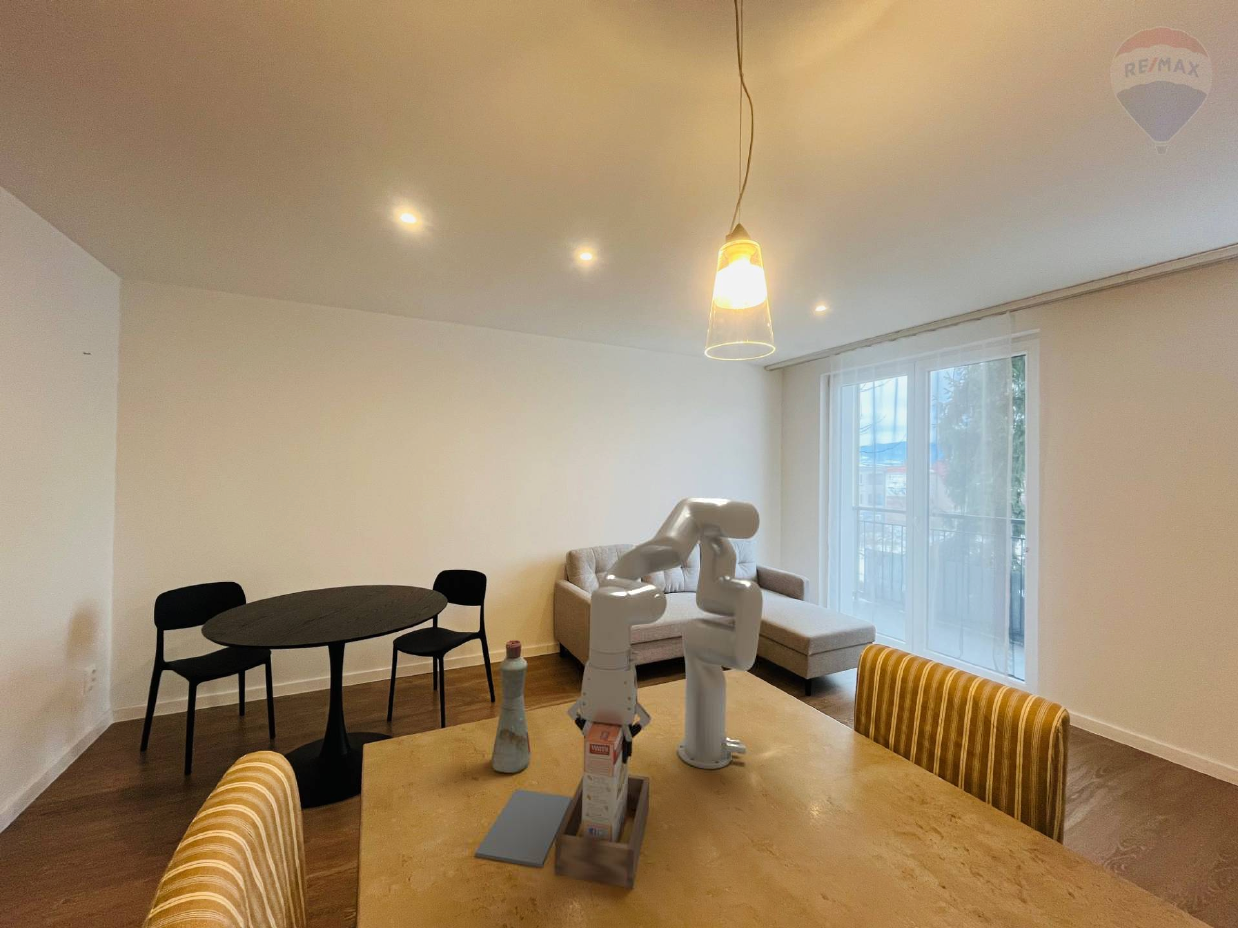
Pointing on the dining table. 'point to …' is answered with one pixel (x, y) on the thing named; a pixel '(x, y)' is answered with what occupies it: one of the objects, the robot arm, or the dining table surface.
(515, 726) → the bottle
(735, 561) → the robot arm
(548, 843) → the slate mat
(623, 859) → the walnut crate
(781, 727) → the dining table surface
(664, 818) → the dining table surface
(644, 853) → the dining table surface
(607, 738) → the cracker box
